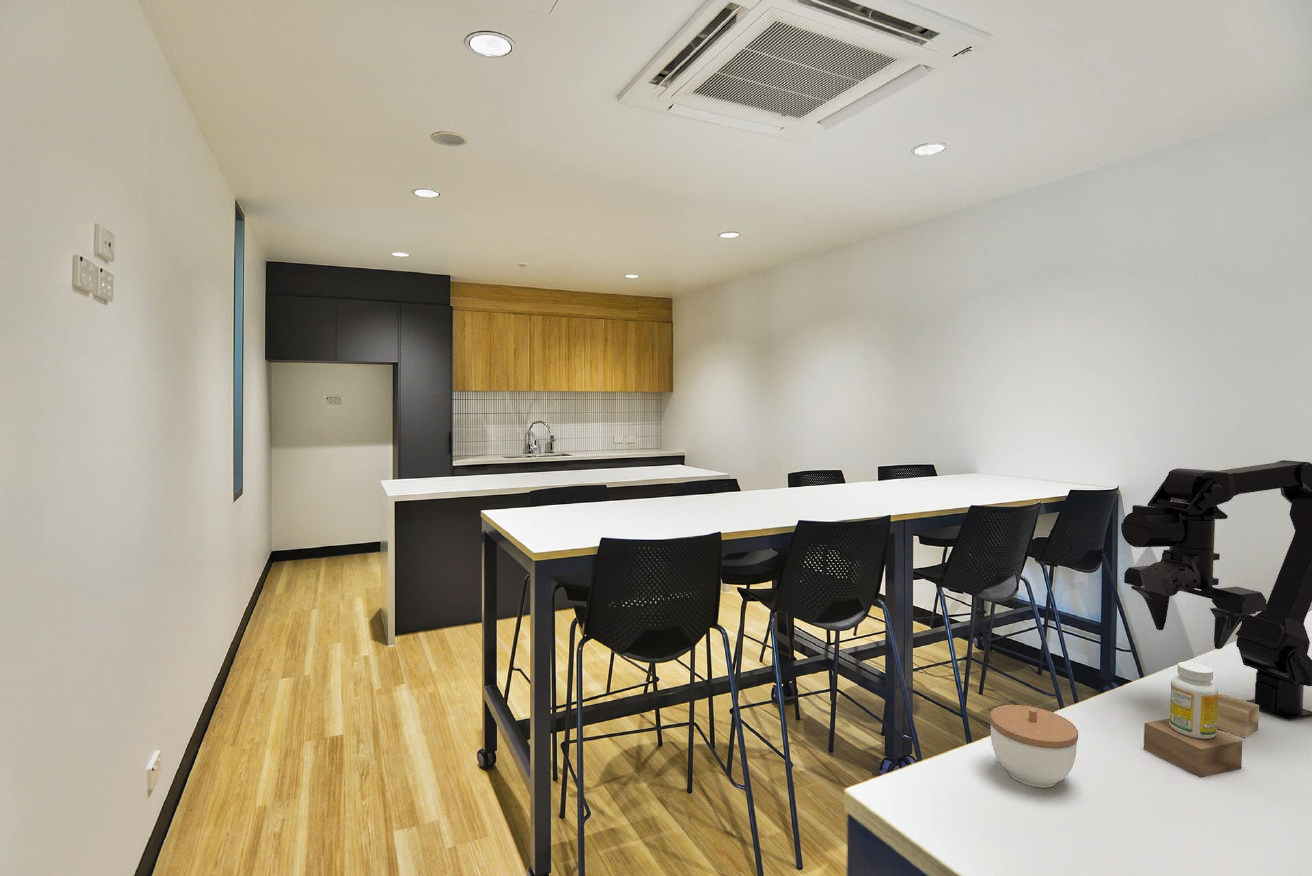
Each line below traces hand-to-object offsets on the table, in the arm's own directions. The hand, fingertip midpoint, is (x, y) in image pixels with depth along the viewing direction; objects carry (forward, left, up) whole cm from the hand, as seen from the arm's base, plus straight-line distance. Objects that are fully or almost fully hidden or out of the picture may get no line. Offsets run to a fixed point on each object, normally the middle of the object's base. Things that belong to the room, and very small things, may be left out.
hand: (1188, 638), depth 109 cm
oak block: (-3, +5, -13) cm, 14 cm away
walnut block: (+13, +10, -13) cm, 21 cm away
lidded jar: (+39, +7, -13) cm, 42 cm away
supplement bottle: (+13, +10, -9) cm, 19 cm away
